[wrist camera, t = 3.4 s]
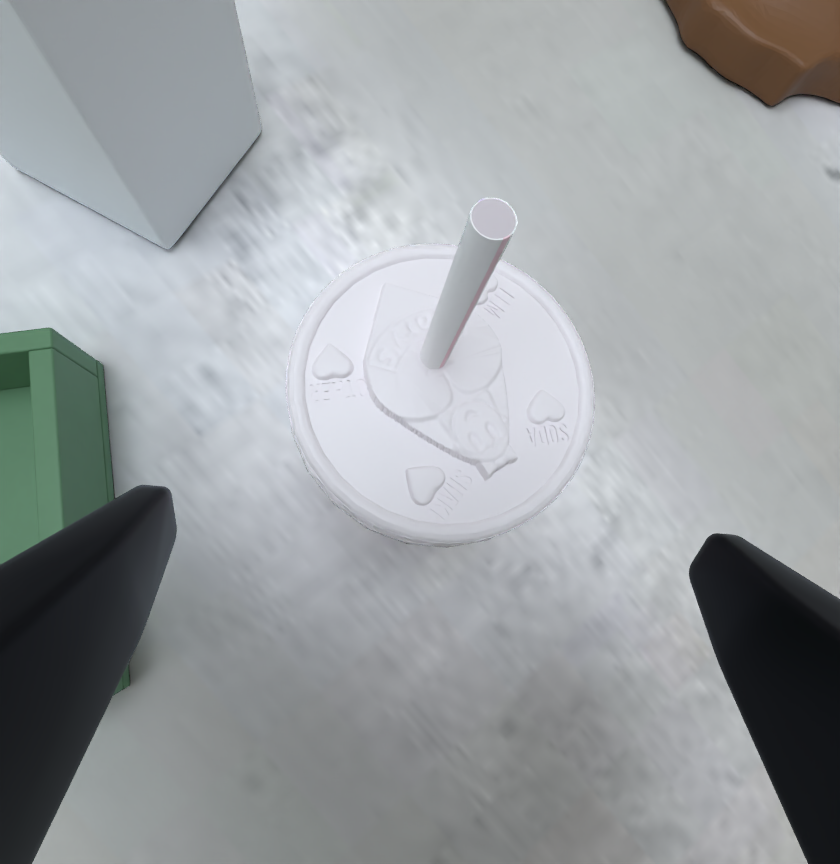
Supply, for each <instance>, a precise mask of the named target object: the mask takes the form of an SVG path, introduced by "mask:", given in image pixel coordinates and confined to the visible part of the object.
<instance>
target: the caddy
mask: <svg viewBox="0 0 840 864" xmlns="http://www.w3.org/2000/svg"><path fill="white" fill-rule="evenodd" d="M112 500H114V490H113V478H112V466H111V455H110V443H109V431H108V419H107V408H106V396H105V384H104V372H103V365H102V364H101V363H100V362H99V361H97V360H95V359H94V358H93V357H91V356H90V355H88V354H87V353H86V352H84V351H83V350H81V349H80V348H79V347H77V346H76V345H74V344H73V343H72V342H70V341H69V340H67V339H66V338H65V337H63V336H62V335H60V334H59V333H58V332H56V331H55V330H54V329H52V328H42V329H34V330H26V331H18V332H10V333H1V334H0V564H2V563H4V562H6V561H7V560H9V559H11V558H13V557H14V556H16V555H18V554H20V553H21V552H23V551H25V550H27V549H28V548H30V547H32V546H34V545H35V544H37V543H39V542H41V541H42V540H44V539H46V538H48V537H49V536H51V535H53V534H55V533H56V532H58V531H60V530H62V529H63V528H65V527H67V526H68V525H70V524H72V523H74V522H75V521H77V520H79V519H81V518H82V517H84V516H86V515H88V514H89V513H91V512H93V511H95V510H96V509H98V508H100V507H102V506H103V505H105V504H107V503H109V502H110V501H112ZM129 685H130V679H129V667H128V665H127V667H126V669H125V671H124V673H123V675H122V677H121V680H120V682H119V684H118V686H117V688H116V690H115V692H114V694H113V695H115V694H116V693H118V692H120V691H121V690H123V689H125V688H126V687H128V686H129Z"/></svg>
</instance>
